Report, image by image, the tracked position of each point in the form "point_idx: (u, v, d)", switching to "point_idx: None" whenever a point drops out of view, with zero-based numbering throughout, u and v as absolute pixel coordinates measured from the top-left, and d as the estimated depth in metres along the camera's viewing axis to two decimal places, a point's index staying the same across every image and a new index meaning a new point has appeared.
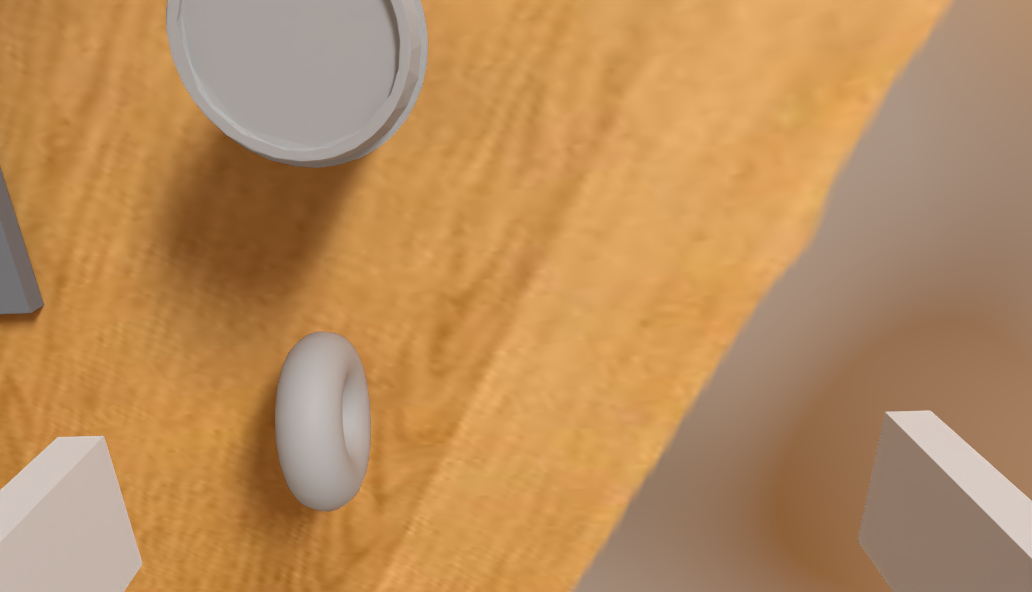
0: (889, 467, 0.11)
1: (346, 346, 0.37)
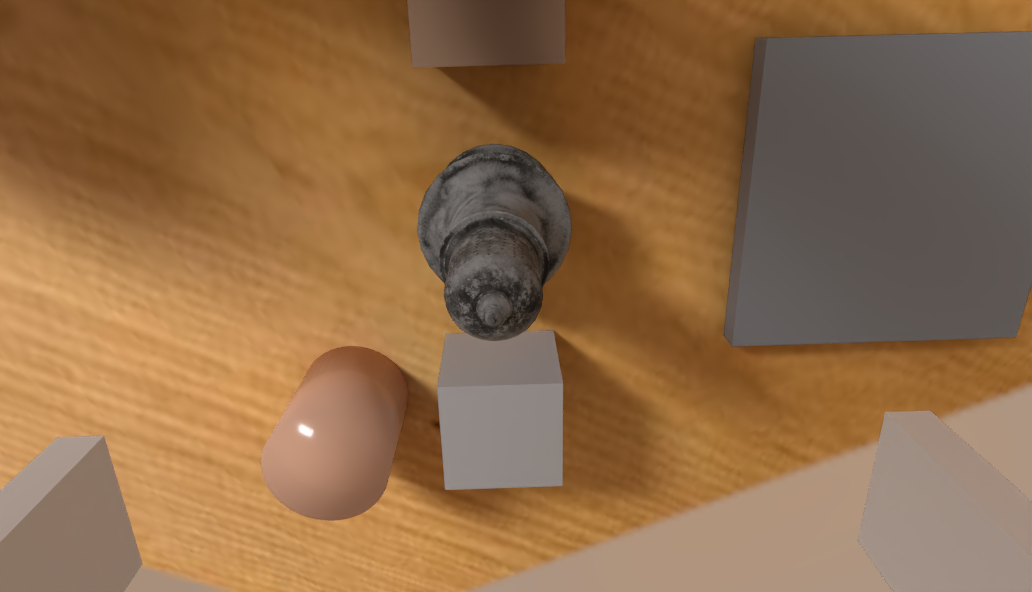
0: (890, 467, 0.11)
1: None
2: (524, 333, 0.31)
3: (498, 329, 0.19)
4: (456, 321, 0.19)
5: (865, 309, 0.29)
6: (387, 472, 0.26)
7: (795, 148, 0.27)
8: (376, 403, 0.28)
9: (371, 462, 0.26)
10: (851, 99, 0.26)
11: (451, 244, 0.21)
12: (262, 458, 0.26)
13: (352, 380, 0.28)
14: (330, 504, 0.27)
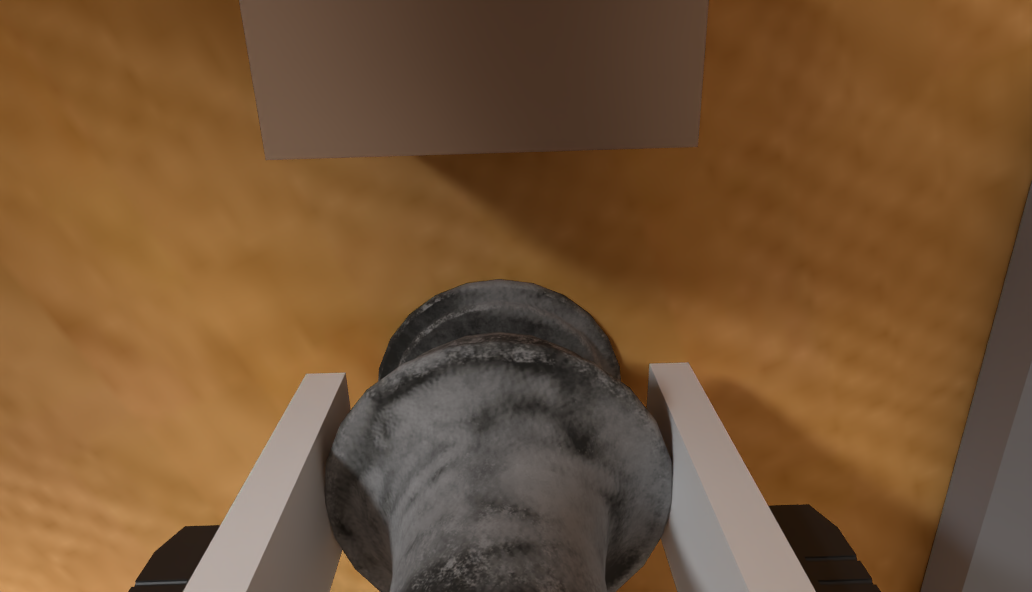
0: (652, 411, 0.13)
1: None
2: None
3: None
4: None
5: None
6: None
7: None
8: None
9: None
10: None
11: None
12: None
13: None
14: None
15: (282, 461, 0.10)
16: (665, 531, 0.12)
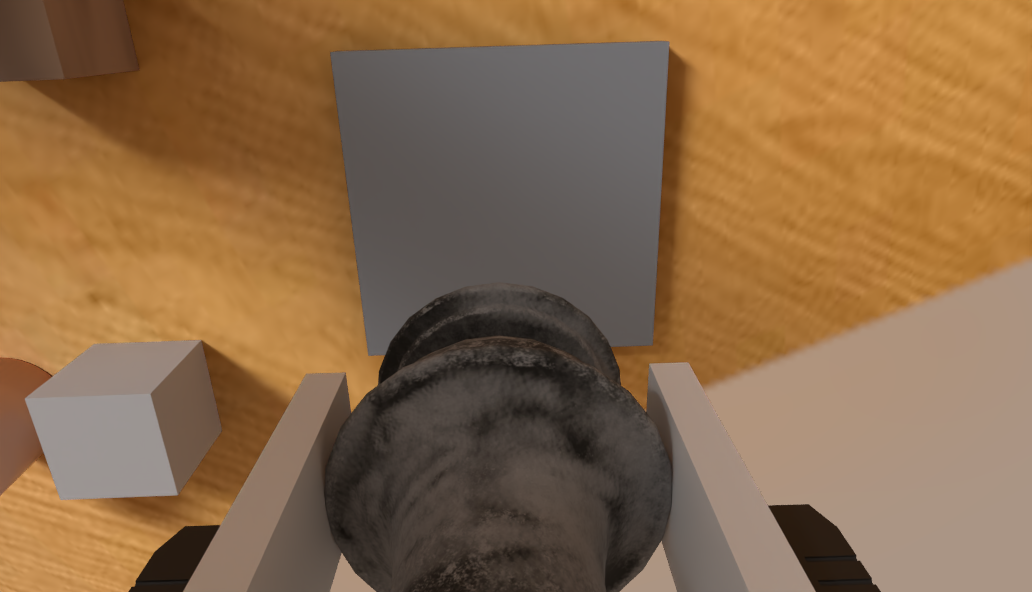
0: (651, 411, 0.13)
1: None
2: (169, 343, 0.31)
3: None
4: None
5: None
6: None
7: (385, 159, 0.27)
8: None
9: None
10: (429, 110, 0.26)
11: None
12: None
13: None
14: None
15: (282, 461, 0.10)
16: (665, 531, 0.12)
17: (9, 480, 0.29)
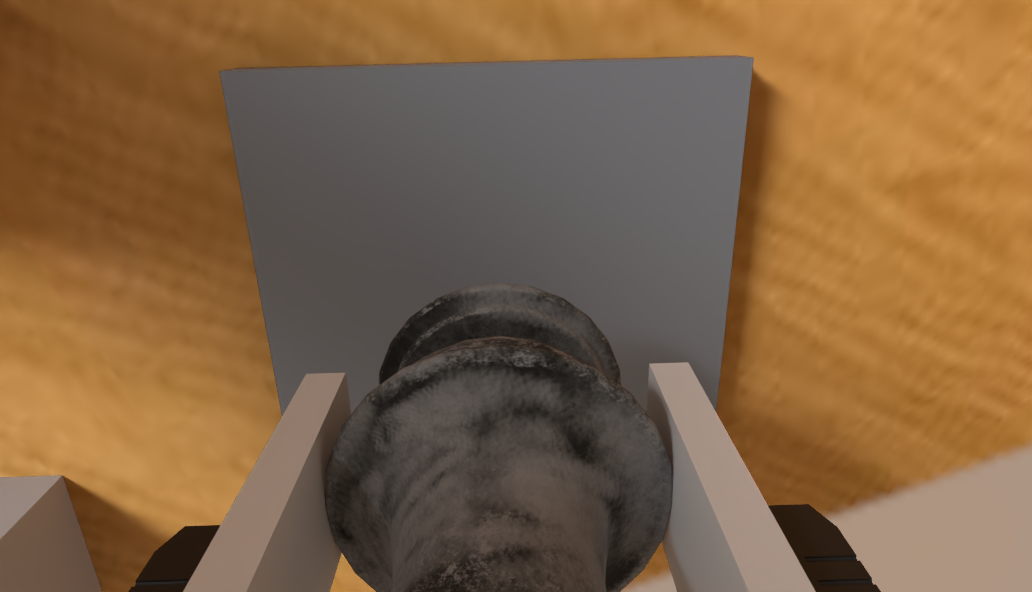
0: (652, 411, 0.13)
1: None
2: (14, 481, 0.22)
3: None
4: None
5: None
6: None
7: (312, 234, 0.18)
8: None
9: None
10: (377, 161, 0.17)
11: None
12: None
13: None
14: None
15: (282, 461, 0.10)
16: (665, 531, 0.12)
17: None
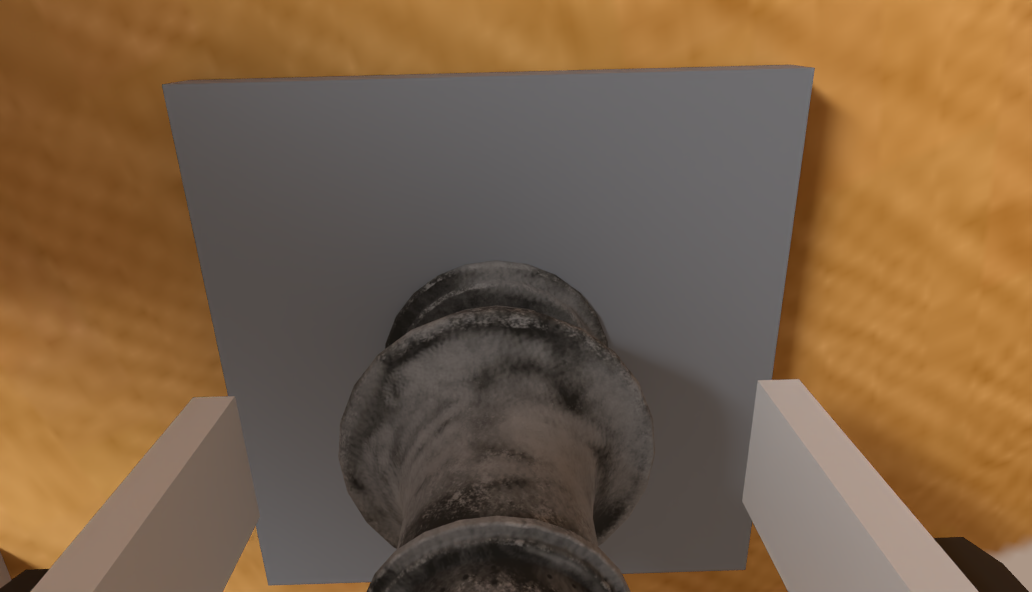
0: (761, 431, 0.12)
1: None
2: None
3: None
4: None
5: None
6: None
7: (278, 278, 0.15)
8: None
9: None
10: (357, 193, 0.14)
11: None
12: None
13: None
14: None
15: (136, 498, 0.09)
16: (784, 560, 0.11)
17: None
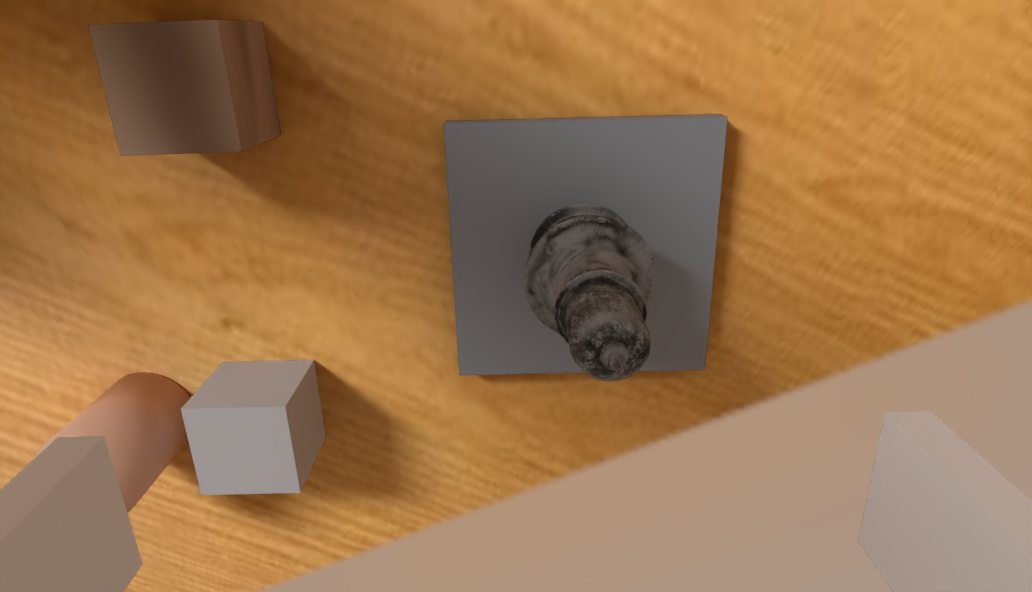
0: (889, 467, 0.11)
1: None
2: (287, 362, 0.36)
3: (616, 372, 0.23)
4: (580, 365, 0.23)
5: (568, 344, 0.35)
6: (139, 489, 0.32)
7: (483, 211, 0.32)
8: (147, 429, 0.33)
9: (126, 479, 0.32)
10: (523, 171, 0.31)
11: (566, 298, 0.25)
12: None
13: (133, 406, 0.34)
14: None
15: None
16: None
17: (153, 481, 0.34)
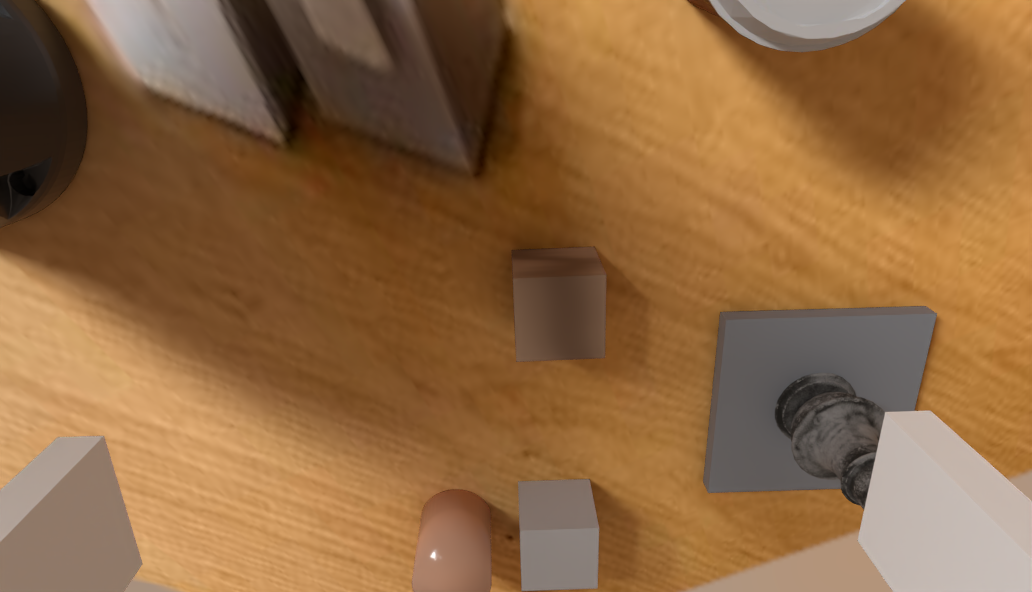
0: (890, 468, 0.11)
1: None
2: (570, 481, 0.46)
3: None
4: None
5: (795, 470, 0.45)
6: (489, 590, 0.42)
7: (746, 378, 0.42)
8: (485, 542, 0.43)
9: (481, 583, 0.42)
10: (780, 351, 0.42)
11: (854, 471, 0.36)
12: (415, 571, 0.41)
13: (470, 523, 0.44)
14: None
15: None
16: None
17: None
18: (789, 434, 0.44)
